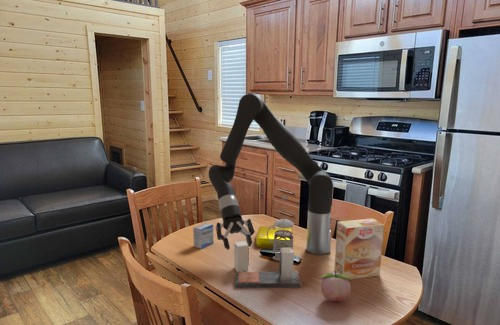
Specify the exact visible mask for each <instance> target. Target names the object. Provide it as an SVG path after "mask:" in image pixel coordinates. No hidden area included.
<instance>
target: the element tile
mask: <svg viewBox="0 0 500 325" xmlns="http://www.w3.org/2000/svg"><path fill="white" fill-rule="evenodd" d="M269 227H270V229H269ZM273 227H274V226H272V228H271V226H264V225H261V226H259V227H258V229H257V233H256V240H255V241H256V246H257V247H259V248H270V249H273V244H274V243H273V242H274V235H275V232H276V231H278V230H283V228H280V227H277V226H275V229H274V228H273ZM291 228H292V227H290V228H284V230H288V231H290V232H292V229H291ZM268 229H269V231H268ZM267 231H268V236H267ZM267 237H269V239H270V240H271V241H272V242H271V241H270V240H269V239H267ZM278 238H280V237H277V239H278ZM284 238H286V239H288V238H287V237H284ZM268 240H269V241H270V242H271V243H272V244H271V243H270V242H269V241H268ZM279 240H285V239H279ZM288 240H290V239H288ZM285 241H287V240H285ZM277 244H279V243H277ZM281 245H282V244H281ZM283 246H285V245H283ZM277 247H279V246H277ZM285 247H287V246H285ZM289 247H290V246H289Z"/></svg>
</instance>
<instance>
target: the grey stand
mask: <svg viewBox="0 0 500 325" xmlns="http://www.w3.org/2000/svg"><path fill="white" fill-rule="evenodd" d="M294 253H295V252H294V248H293V249H292V248H280V257H279V261H278V264H279V265H278V266H279V268H278V271H243V272H237V271H235V280H234V281H235V284H234V285H235V287H234V288H235V289H236V288H237V289H240V288H241V289H242V288H244V289H245V288H246V289H247V288H251V289H252V288H254V289H255V288H256V289H257V288H259V289H260V288H301V287H302V281H301V279H300V275H299V272H298V271H294V260H295V258H294V255H295V254H294Z"/></svg>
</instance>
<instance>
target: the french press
mask: <svg viewBox="0 0 500 325" xmlns="http://www.w3.org/2000/svg"><path fill="white" fill-rule="evenodd" d="M281 199H282V200H283V212H285V209H286V208H285V206H286V205H285V204H286V202H285V201H286V200H288V197H287V196H286V195H283V196H282V198H281ZM293 226H295V222H293V221H292V220H290V219H287V218H281V219H277V220H275V221H274V222H273V225H270V226H268V227H269V229H270V227H271V228H272V227H273V228H274V229H275V227H280V228H283V230H278V231H276V232H275V235H274V242H273V243H274V244H273V248H272V252H273V251H274V253H275V252H280V248H292V249H293V250H294V236H293V232H292V231H291V232H290V231H288V230H284V228H293ZM269 229H268V231H269ZM268 231H267V236H268ZM277 237H280V238H278V239H277ZM284 237H287V238H288V239H290V240H288V239H286V238H284ZM267 239H269V237H267ZM279 239H285V240H287V241H285V240H279ZM269 240H270V239H269ZM269 240H268V241H269ZM270 241H271V240H270ZM270 241H269V242H270ZM271 242H272V241H271ZM271 242H270V243H271ZM277 243H279V244H277ZM271 244H272V243H271ZM281 244H282V245H281ZM283 245H285V246H287V247H285V246H283ZM277 246H279V247H277ZM289 246H290V247H289ZM279 257H280V253H275V256H273V257H271V258H272V259H273V260H274V261H276V262H277V261H278V262H279Z"/></svg>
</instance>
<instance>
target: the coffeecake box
mask: <svg viewBox="0 0 500 325" xmlns="http://www.w3.org/2000/svg"><path fill="white" fill-rule="evenodd" d="M336 225H337V226H336V237H335V238H336V239H335V255H334V267H333V268H334V269H333V270H334V271H333V272H335V271H336V273H340V274H345V275H347V276H348V277H349V278H350V279H351V280H358V279H363V278H370V277H371V278H372V277H379V276H380V275H381V265H382V254H383V253H382V252H383V243H384V230H385V224H384V223H382V222H380V221H379V220H377V219H375V218H372V217H371V218H364V219H362V218H361V219H352V220H341V221H337V224H336Z"/></svg>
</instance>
